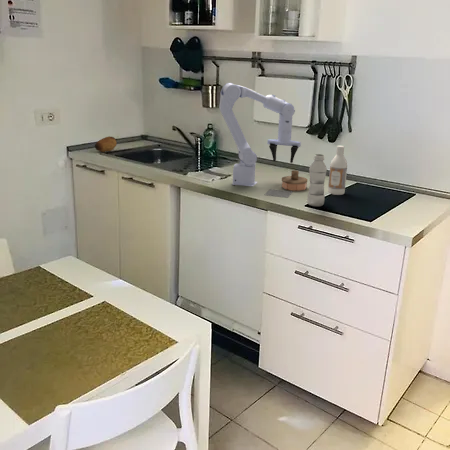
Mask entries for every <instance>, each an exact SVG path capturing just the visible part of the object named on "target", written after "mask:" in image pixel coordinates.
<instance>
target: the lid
mask: <svg viewBox="0 0 450 450" xmlns="http://www.w3.org/2000/svg"><path fill="white" fill-rule="evenodd" d="M299 172H300V171H299V170H295V169H294V170H291V174H290V175H288V176H287V175H286V176H283V177H281V181H283V182H285V183H289V184H305V183H307V184H308V178H306V177H303V176H299V174H300V173H299Z"/></svg>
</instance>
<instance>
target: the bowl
mask: <svg viewBox="0 0 450 450" xmlns="http://www.w3.org/2000/svg"><path fill="white" fill-rule="evenodd" d="M281 181H282V180H281ZM307 186H308V182H307V183H305V184H289V183H285V182H283V181H282V182H281V187H282V188H283V189H285V190H286V191H293V192H294V191H296V192H297V191H304V190H306V189H307Z"/></svg>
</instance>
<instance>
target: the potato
mask: <svg viewBox="0 0 450 450" xmlns="http://www.w3.org/2000/svg"><path fill="white" fill-rule="evenodd" d="M116 147H117V139H116V137H114V136H110V135H109V136H106V137H103V138H100V140H98V141H97V142H96V143H94V148H95V150H97V151H99V153H100V152H101V153H106V152H105V151H109V152H111V151H113V150H114V149H115V148H116Z"/></svg>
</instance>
